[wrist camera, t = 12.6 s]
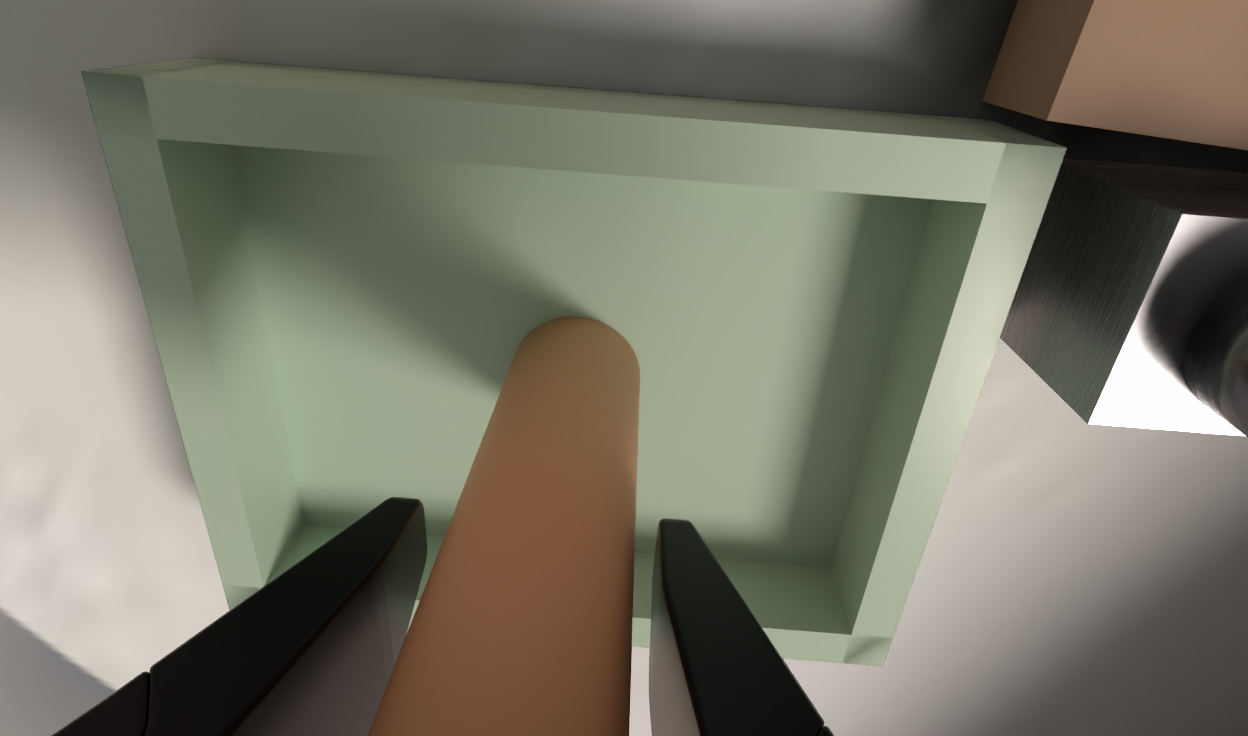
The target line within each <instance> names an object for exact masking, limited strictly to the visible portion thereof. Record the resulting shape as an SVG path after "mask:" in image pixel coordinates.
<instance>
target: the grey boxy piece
mask: <svg viewBox="0 0 1248 736" xmlns="http://www.w3.org/2000/svg"><path fill="white" fill-rule="evenodd" d="M1000 338H1001V339H1002V340H1003V341H1004V342H1005V343H1006V344H1007V345H1008V346H1009V347H1010V348H1011V349H1012V350H1013V351H1014V352H1015V353H1016V354H1017V355H1018V356H1019V357H1020V358H1021V359H1022V360H1023V361H1024V362H1025V363H1026V364H1027V365H1028V366H1029V367H1030V368H1031V369H1033V370H1034V371H1035V372H1036V373H1037V374H1038V375H1039V376H1040V377H1041V378H1042V379H1043V380H1044V381H1045V382H1046V383H1047V384H1048V385H1049V386H1050V387H1051V388H1052V389H1053V390H1054V391H1055V392H1056V393H1057V394H1058V395H1059V396H1060V397H1061V398H1062V399H1063V400H1064V401H1065V402H1066V403H1067V404H1068V405H1069V406H1070V407H1071V408H1072V409H1073V410H1074V411H1075V412H1076V413H1077V414H1078V415H1079V416H1080V417H1081V418H1082V419H1083V420H1084V421H1085V422H1086V423H1087V424H1095V425H1108V426H1121V427H1133V428H1146V429H1159V430H1172V431H1184V432H1197V433H1210V434H1223V435H1235V436H1247V437H1248V172H1238V171H1225V170H1212V169H1199V168H1187V167H1174V166H1161V165H1148V164H1135V163H1122V162H1109V161H1096V160H1083V159H1070V158H1063V161H1062V163H1061V166H1060V169H1059V172H1058V175H1057V178H1056V180H1055V183H1054V186H1053V189H1052V192H1051V194H1050V197H1049V200H1048V203H1047V206H1046V209H1045V211H1044V214H1043V217H1042V220H1041V223H1040V225H1039V228H1038V231H1037V234H1036V237H1035V239H1034V242H1033V245H1032V248H1031V251H1030V254H1029V256H1028V259H1027V262H1026V265H1025V268H1024V270H1023V273H1022V276H1021V279H1020V282H1019V284H1018V287H1017V290H1016V293H1015V296H1014V299H1013V301H1012V304H1011V307H1010V310H1009V313H1008V315H1007V318H1006V321H1005V324H1004V327H1003V329H1002V332H1001V335H1000Z"/></svg>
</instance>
